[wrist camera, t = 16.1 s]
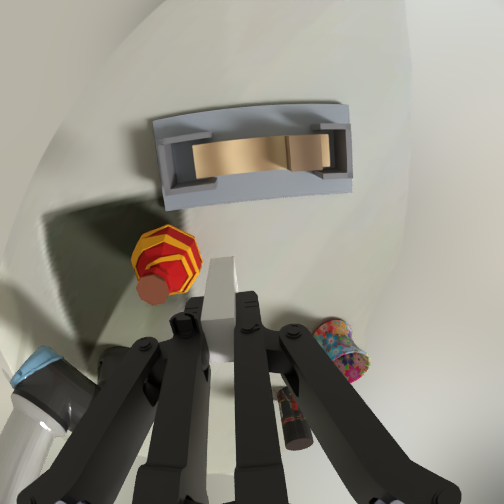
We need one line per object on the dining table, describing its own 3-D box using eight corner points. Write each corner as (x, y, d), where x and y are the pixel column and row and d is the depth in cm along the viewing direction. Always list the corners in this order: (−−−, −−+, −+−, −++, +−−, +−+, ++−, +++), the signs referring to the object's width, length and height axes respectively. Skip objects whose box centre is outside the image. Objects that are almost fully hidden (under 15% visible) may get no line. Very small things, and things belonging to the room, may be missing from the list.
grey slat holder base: (167, 208, 43) (157, 220, 37) (155, 121, 37) (142, 119, 31) (348, 190, 43) (365, 200, 38) (344, 105, 38) (362, 101, 32)
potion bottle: (179, 200, 43) (154, 232, 29) (218, 250, 46) (213, 300, 33) (132, 237, 44) (96, 280, 31) (171, 282, 48) (151, 337, 34)
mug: (330, 308, 52) (348, 344, 43) (360, 326, 55) (379, 360, 45) (291, 349, 56) (301, 387, 46) (322, 363, 58) (335, 399, 49)
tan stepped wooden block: (200, 174, 40) (193, 182, 33) (196, 144, 38) (188, 146, 32) (321, 163, 40) (337, 169, 34) (319, 134, 38) (335, 134, 32)
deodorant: (302, 397, 63) (313, 446, 49) (279, 402, 63) (287, 452, 49) (300, 384, 61) (313, 435, 47) (275, 389, 61) (283, 441, 47)
